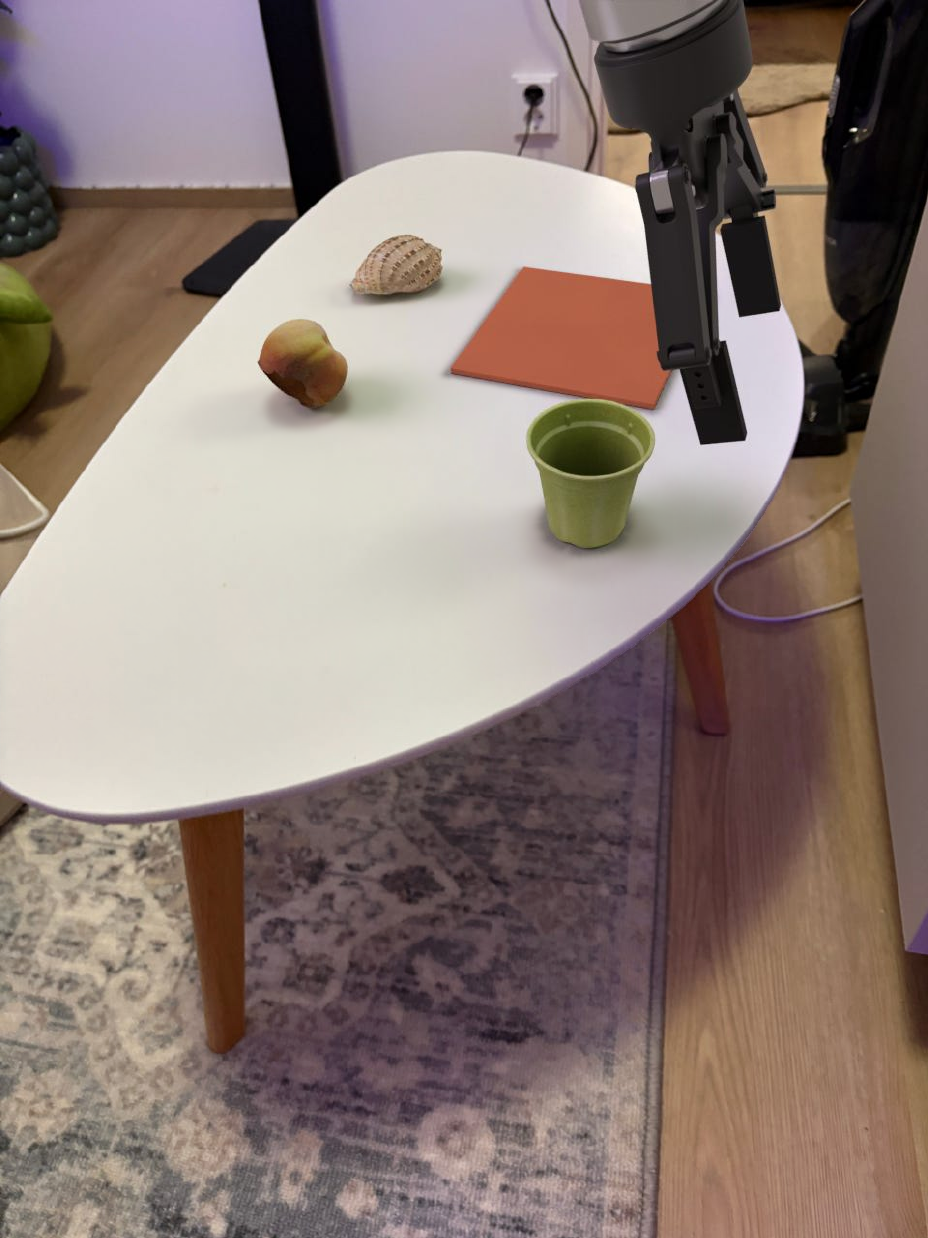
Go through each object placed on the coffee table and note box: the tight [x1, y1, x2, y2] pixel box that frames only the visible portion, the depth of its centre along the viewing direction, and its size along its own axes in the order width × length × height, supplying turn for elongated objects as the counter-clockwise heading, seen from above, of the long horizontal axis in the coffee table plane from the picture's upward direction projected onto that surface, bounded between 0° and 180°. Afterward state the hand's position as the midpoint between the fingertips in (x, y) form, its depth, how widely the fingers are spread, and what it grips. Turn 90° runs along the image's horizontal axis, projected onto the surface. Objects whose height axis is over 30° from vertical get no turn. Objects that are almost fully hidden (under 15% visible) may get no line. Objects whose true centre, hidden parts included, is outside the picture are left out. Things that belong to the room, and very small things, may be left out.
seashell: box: [349, 234, 443, 296], centre depth 101 cm, size 8×6×10 cm
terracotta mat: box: [450, 266, 673, 410], centre depth 93 cm, size 20×20×1 cm
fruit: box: [257, 318, 349, 409], centre depth 86 cm, size 8×8×8 cm
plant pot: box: [525, 398, 656, 549], centre depth 72 cm, size 9×9×9 cm
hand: (743, 371), depth 60 cm, fingers open, 13 cm apart
